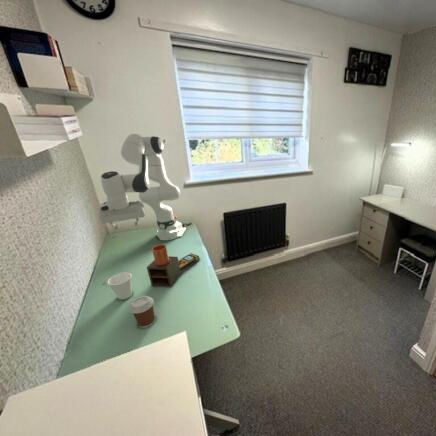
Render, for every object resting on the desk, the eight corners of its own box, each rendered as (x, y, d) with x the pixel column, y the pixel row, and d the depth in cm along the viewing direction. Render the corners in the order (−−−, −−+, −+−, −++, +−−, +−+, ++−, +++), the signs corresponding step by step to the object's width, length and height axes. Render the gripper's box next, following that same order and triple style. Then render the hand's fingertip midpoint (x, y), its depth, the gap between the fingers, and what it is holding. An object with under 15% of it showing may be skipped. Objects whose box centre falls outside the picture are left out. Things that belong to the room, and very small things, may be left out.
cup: (141, 290, 124) (136, 272, 120) (127, 303, 115) (121, 285, 111) (123, 288, 125) (117, 271, 121) (108, 302, 116) (101, 284, 112)
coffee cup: (147, 332, 100) (140, 311, 95) (130, 327, 103) (122, 306, 98) (163, 316, 108) (157, 296, 104) (147, 312, 111) (140, 292, 106)
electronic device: (169, 269, 141) (168, 265, 140) (190, 256, 154) (189, 252, 153) (179, 273, 138) (178, 268, 136) (200, 260, 151) (199, 255, 149)
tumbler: (160, 258, 131) (156, 244, 127) (171, 258, 130) (168, 244, 127) (153, 265, 125) (149, 250, 121) (165, 265, 124) (161, 251, 121)
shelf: (162, 273, 138) (158, 255, 133) (181, 274, 137) (177, 256, 132) (151, 285, 128) (146, 267, 123) (171, 286, 127) (166, 268, 122)
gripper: (142, 198, 130) (148, 220, 136) (96, 204, 121) (105, 228, 127) (142, 202, 125) (148, 225, 131) (94, 209, 116) (103, 233, 122)
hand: (127, 226), depth 129 cm, fingers open, 8 cm apart
